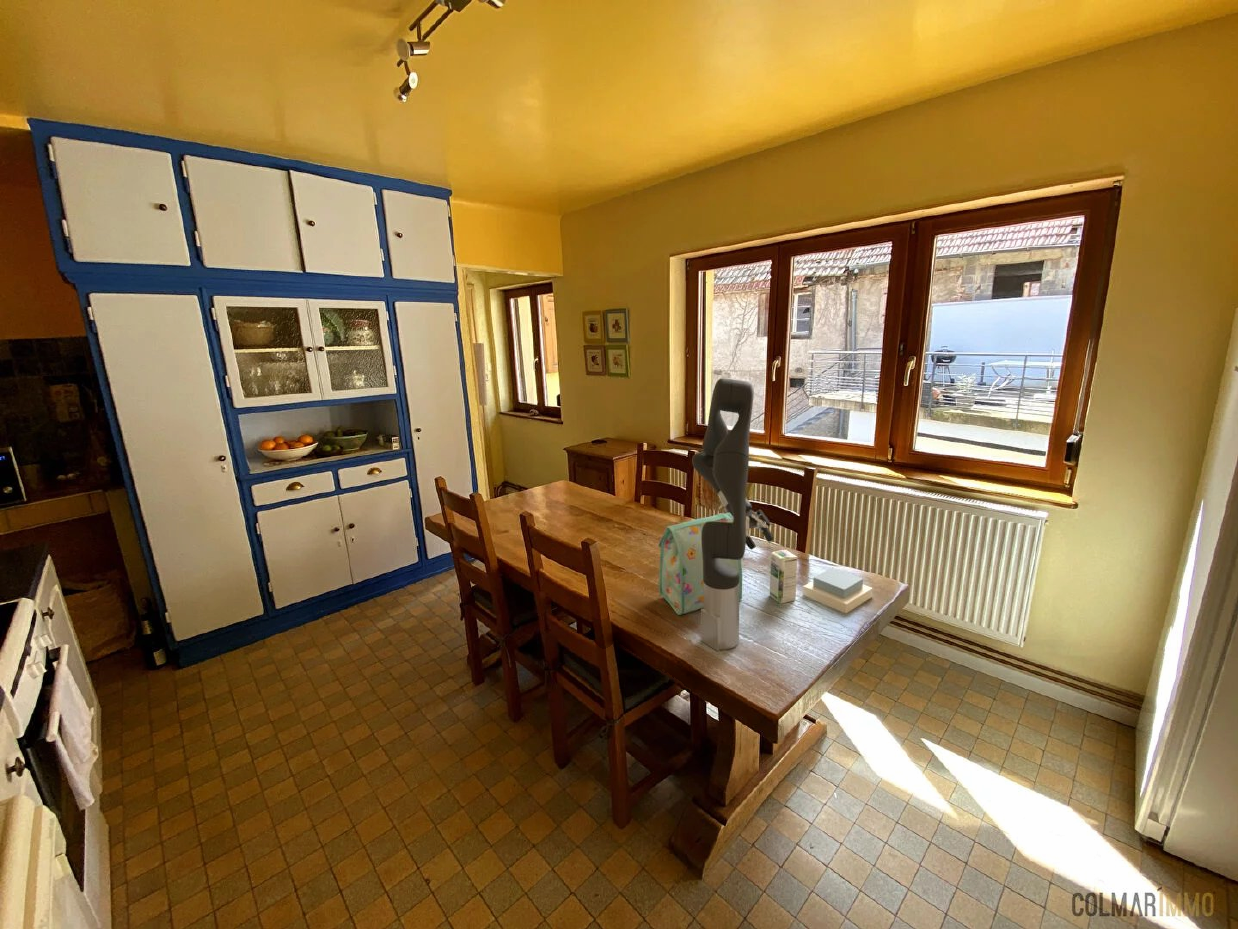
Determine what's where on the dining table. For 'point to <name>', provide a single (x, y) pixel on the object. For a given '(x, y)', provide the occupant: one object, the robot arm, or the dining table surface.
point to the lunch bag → (687, 564)
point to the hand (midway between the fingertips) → (762, 544)
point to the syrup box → (783, 576)
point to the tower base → (837, 600)
